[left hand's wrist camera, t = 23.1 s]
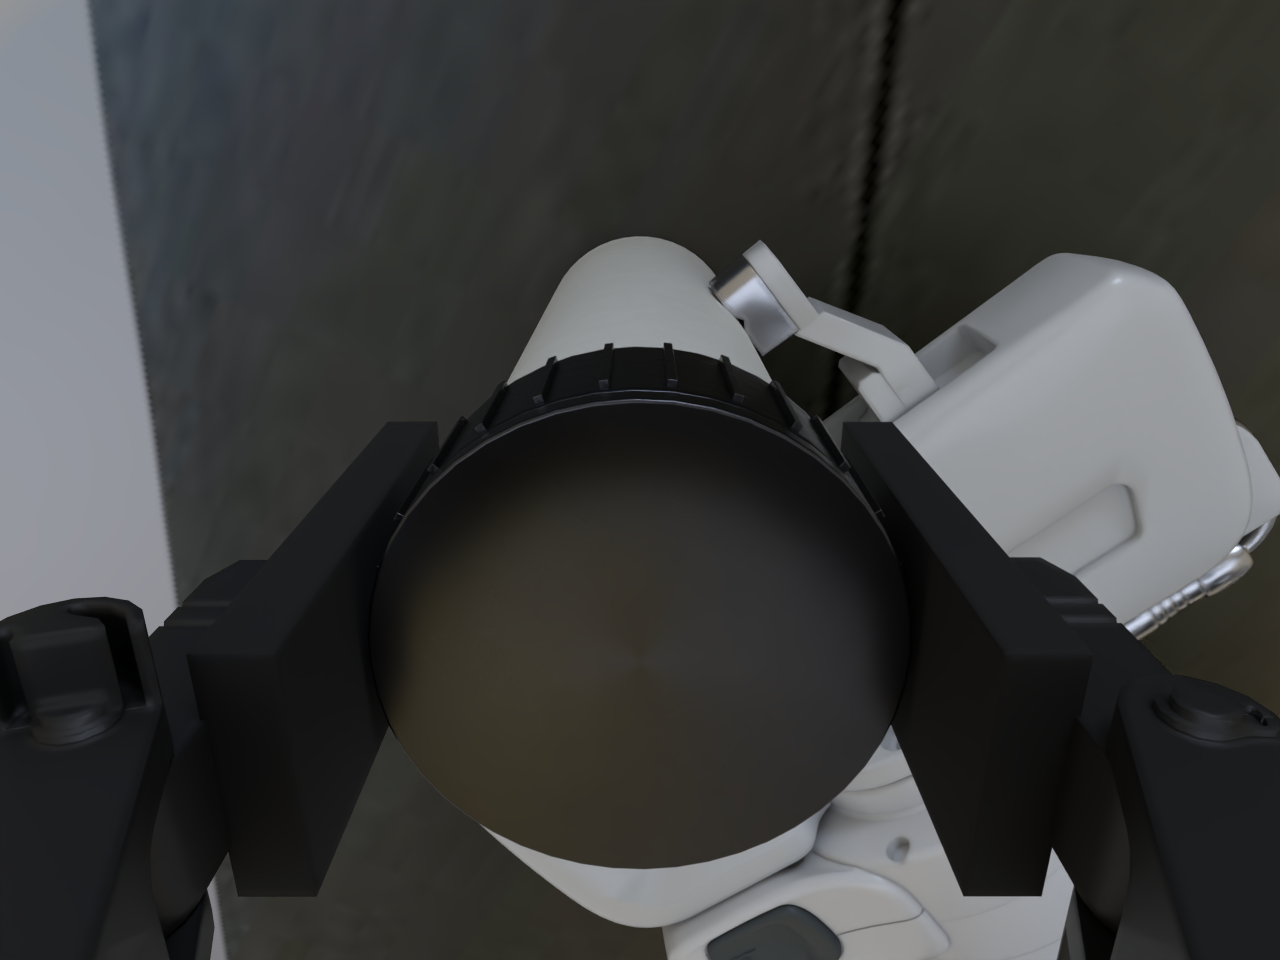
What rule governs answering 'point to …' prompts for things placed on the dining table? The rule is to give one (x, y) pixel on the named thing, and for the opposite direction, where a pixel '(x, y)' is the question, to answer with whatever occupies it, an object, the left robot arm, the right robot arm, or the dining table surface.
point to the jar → (638, 308)
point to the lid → (639, 613)
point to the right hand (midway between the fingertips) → (613, 361)
